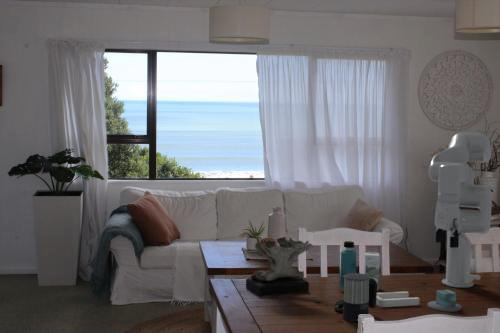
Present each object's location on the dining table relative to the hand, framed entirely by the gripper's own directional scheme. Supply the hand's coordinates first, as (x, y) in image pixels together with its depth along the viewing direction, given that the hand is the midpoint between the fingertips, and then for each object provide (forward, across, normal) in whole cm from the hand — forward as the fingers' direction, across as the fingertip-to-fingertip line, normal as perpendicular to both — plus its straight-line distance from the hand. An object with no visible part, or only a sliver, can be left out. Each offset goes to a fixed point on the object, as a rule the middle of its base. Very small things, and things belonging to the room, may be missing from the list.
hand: (446, 244), depth 238 cm
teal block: (+22, 0, 0) cm, 23 cm away
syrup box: (+23, -29, -16) cm, 40 cm away
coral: (+23, -32, -52) cm, 65 cm away
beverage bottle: (+23, -27, -27) cm, 45 cm away
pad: (+23, 0, 0) cm, 23 cm away
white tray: (+23, -9, -15) cm, 29 cm away
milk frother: (+23, +3, -38) cm, 45 cm away
